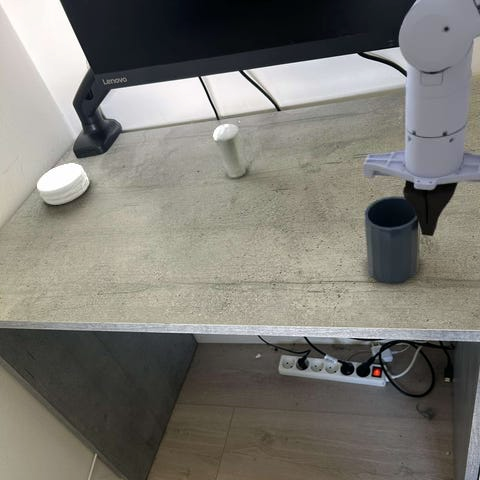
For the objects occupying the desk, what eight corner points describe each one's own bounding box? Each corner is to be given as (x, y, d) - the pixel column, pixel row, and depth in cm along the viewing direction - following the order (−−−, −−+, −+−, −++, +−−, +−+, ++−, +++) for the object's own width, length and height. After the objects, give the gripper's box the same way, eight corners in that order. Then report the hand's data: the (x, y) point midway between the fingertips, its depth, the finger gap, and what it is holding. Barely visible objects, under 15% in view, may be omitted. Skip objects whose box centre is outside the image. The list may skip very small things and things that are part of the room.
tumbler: (413, 247, 67) (415, 192, 60) (422, 280, 62) (424, 224, 56) (365, 254, 68) (361, 201, 62) (371, 286, 64) (367, 233, 57)
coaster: (86, 171, 105) (78, 156, 102) (93, 192, 98) (85, 177, 96) (42, 190, 104) (33, 176, 101) (47, 212, 97) (38, 197, 95)
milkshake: (249, 179, 88) (235, 127, 80) (222, 180, 90) (206, 129, 82) (256, 165, 90) (244, 113, 83) (229, 166, 92) (215, 116, 85)
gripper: (351, 142, 50) (358, 244, 59) (511, 148, 43) (489, 261, 53) (372, 106, 53) (376, 208, 63) (523, 107, 47) (501, 220, 56)
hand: (429, 230), depth 58 cm, fingers closed, pressing on tumbler
